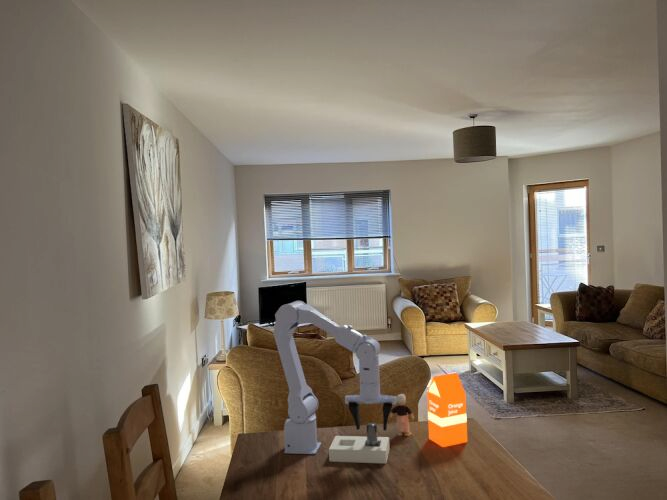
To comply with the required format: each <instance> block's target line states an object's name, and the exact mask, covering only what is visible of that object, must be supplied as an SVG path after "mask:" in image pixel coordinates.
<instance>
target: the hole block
mask: <svg viewBox="0 0 667 500" xmlns="http://www.w3.org/2000/svg"><path fill="white" fill-rule="evenodd" d="M377 438H378V447H372V446H367V436H355V435H354V436H352V435H335V437H334V438H333V440H332V442H331V444H330V446H329V448H328V457H329V462H334V463H337V462H338V463H362V464H365V463H366V464H387V462H388V458H389V453H390V437H388V436H377Z"/></svg>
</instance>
